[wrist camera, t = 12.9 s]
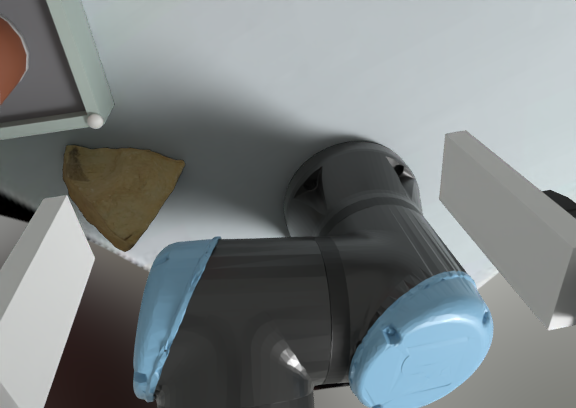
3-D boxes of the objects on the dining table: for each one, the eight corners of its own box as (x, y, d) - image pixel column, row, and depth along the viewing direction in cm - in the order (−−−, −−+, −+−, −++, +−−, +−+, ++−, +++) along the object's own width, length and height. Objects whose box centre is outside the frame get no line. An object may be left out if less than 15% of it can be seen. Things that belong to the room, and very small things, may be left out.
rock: (28, 185, 42) (114, 249, 46) (25, 179, 35) (129, 256, 38) (106, 106, 46) (181, 171, 49) (119, 84, 38) (206, 163, 42)
